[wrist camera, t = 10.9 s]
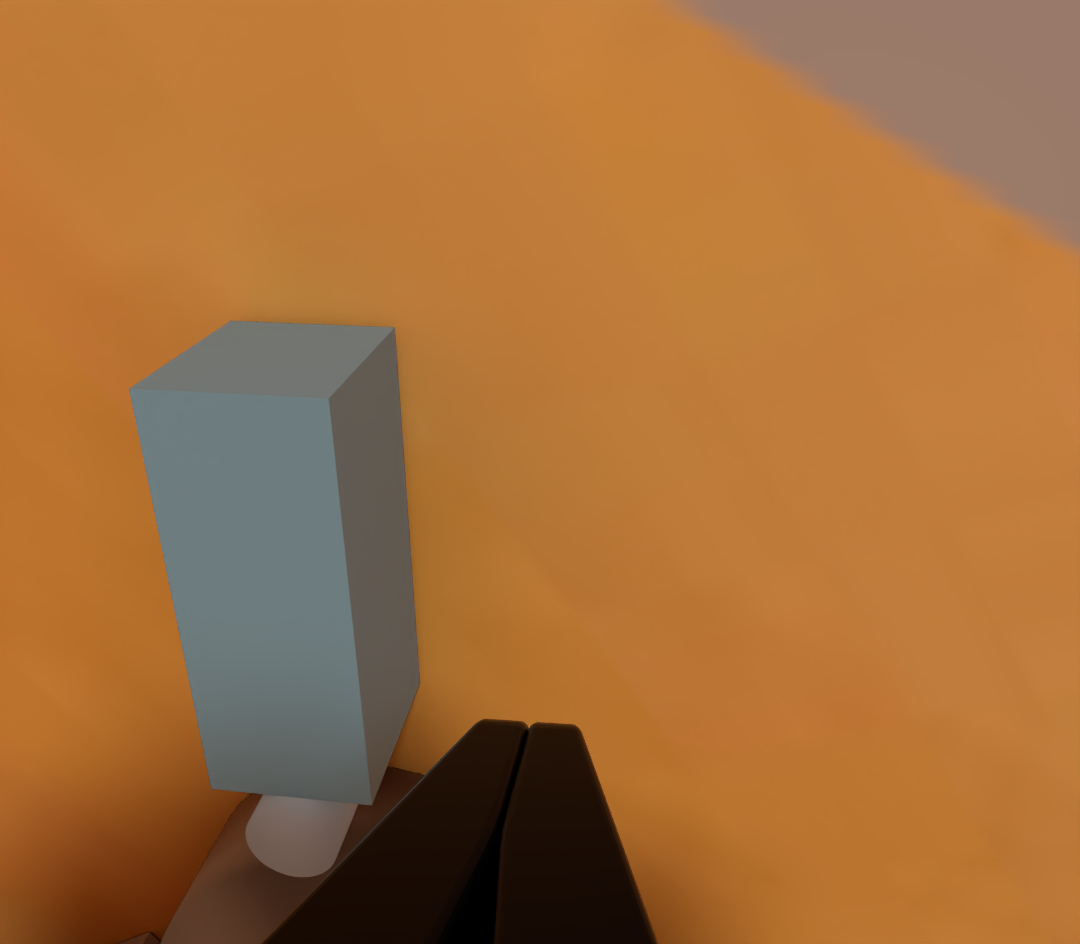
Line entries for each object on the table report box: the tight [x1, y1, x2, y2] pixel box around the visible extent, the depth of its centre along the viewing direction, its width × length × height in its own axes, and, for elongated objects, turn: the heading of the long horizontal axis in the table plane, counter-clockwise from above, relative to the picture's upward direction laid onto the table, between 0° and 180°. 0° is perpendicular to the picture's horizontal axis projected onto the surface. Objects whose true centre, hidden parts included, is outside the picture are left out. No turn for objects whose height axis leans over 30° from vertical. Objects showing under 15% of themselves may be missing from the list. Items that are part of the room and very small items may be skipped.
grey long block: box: [129, 321, 420, 877], centre depth 20 cm, size 11×4×4 cm, turn 0°
